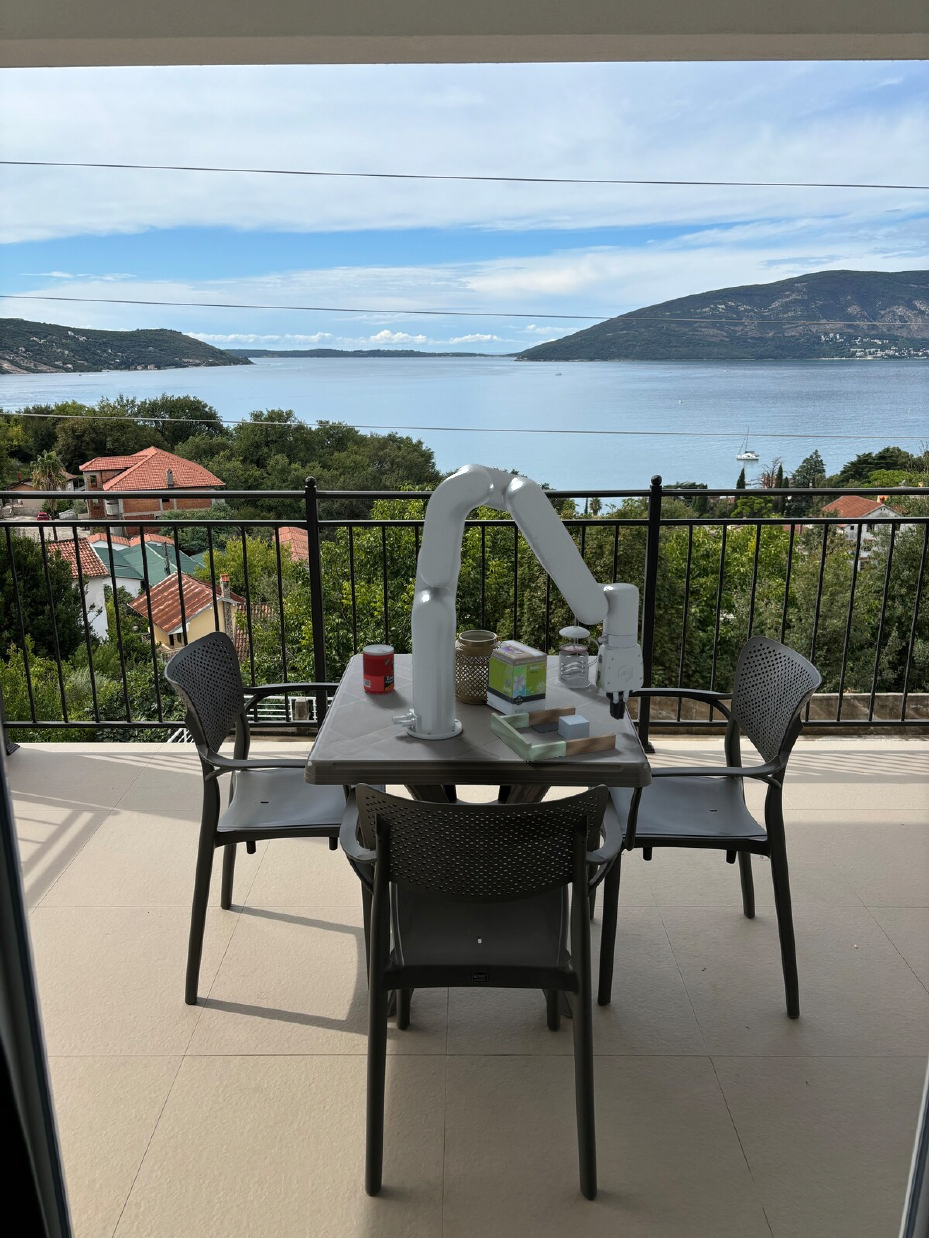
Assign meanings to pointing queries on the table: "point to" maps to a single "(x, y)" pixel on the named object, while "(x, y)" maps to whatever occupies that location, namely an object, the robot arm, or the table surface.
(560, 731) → the block
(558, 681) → the french press
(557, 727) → the plate
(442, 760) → the table surface
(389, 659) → the canned food
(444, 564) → the robot arm
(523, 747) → the trap lane
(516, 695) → the tea box
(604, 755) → the table surface
